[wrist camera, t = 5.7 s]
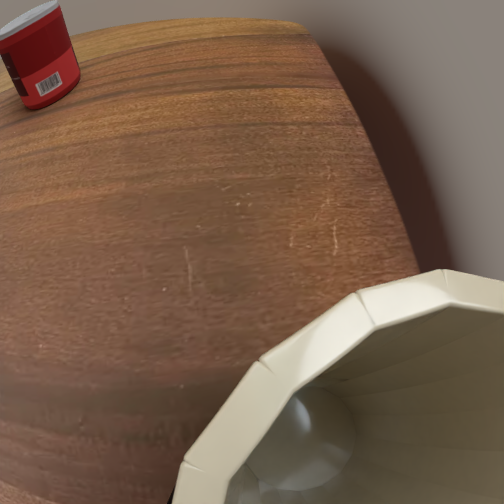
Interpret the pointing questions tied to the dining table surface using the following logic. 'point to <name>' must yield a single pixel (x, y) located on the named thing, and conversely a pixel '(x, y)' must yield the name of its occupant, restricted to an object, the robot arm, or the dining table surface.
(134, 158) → the dining table surface
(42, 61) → the canned food
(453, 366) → the cup
